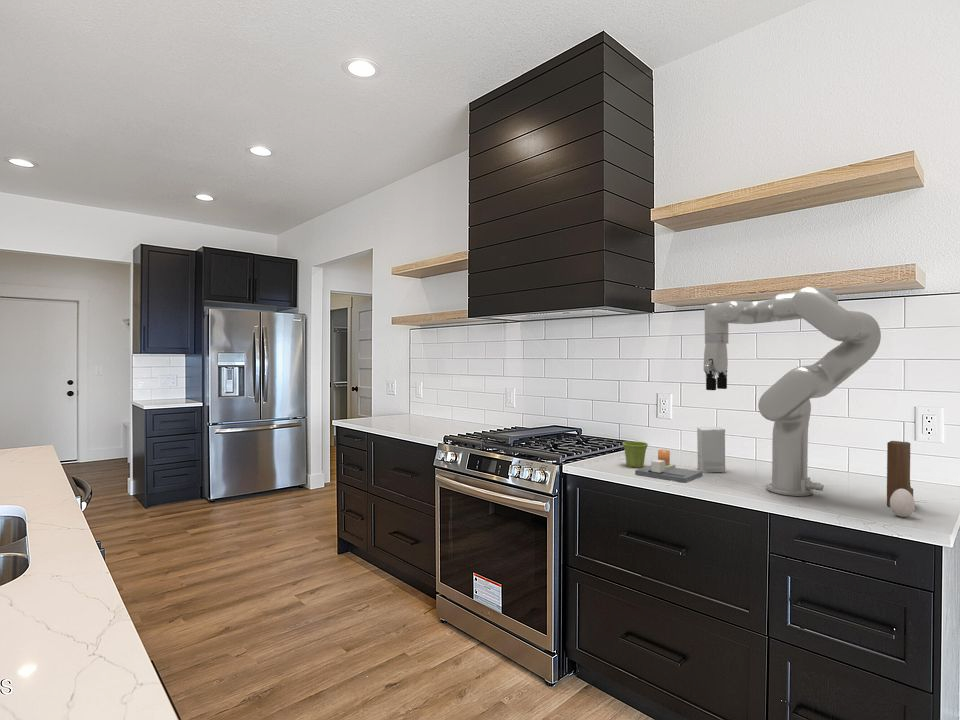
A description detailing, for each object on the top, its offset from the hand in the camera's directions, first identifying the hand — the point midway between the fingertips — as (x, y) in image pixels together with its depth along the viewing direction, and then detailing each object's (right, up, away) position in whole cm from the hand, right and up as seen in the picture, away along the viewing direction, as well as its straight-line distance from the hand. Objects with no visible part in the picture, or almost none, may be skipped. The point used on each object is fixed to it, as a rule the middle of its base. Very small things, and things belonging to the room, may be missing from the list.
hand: (716, 389), depth 193 cm
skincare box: (+2, -30, +10) cm, 32 cm away
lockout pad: (-15, -28, +9) cm, 33 cm away
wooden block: (+36, -31, -35) cm, 59 cm away
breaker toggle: (-20, -28, +1) cm, 34 cm away
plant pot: (-23, -30, +18) cm, 42 cm away
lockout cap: (-15, -27, +9) cm, 33 cm away
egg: (+29, -31, -46) cm, 63 cm away
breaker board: (-15, -30, +3) cm, 34 cm away
